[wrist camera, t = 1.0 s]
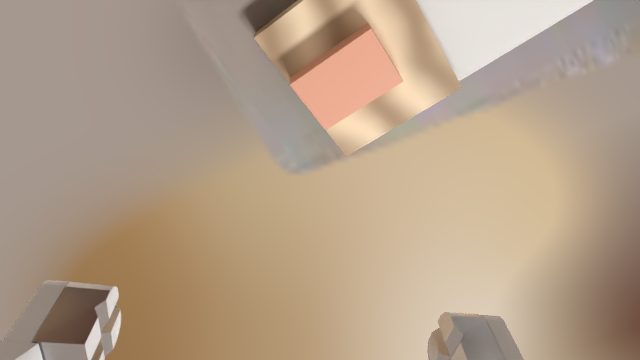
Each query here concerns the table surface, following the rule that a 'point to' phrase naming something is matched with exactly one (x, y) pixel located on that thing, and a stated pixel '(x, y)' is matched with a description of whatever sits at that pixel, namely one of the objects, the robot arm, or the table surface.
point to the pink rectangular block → (346, 77)
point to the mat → (489, 27)
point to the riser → (395, 36)
